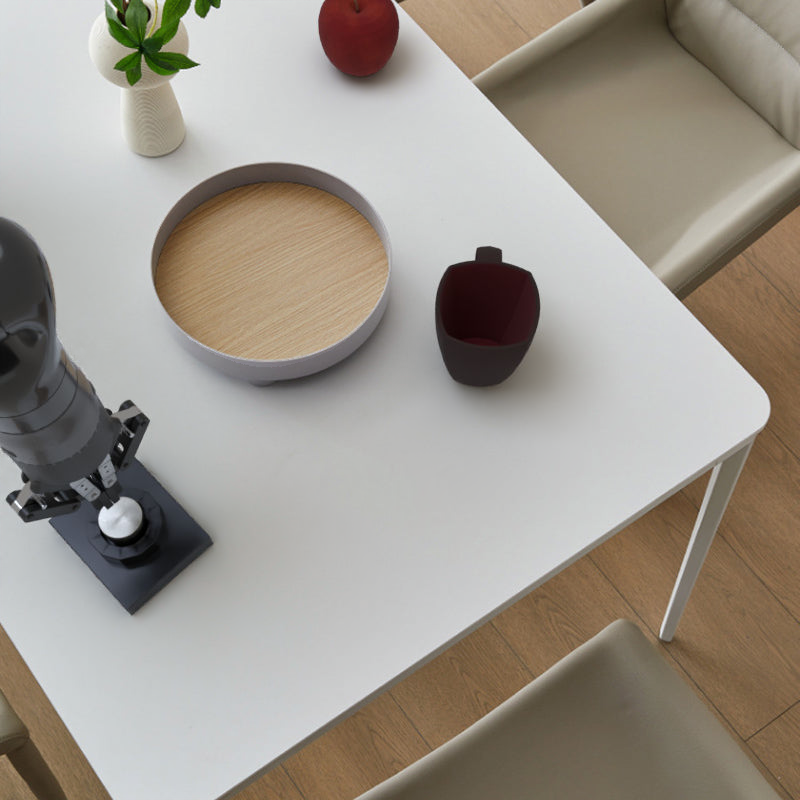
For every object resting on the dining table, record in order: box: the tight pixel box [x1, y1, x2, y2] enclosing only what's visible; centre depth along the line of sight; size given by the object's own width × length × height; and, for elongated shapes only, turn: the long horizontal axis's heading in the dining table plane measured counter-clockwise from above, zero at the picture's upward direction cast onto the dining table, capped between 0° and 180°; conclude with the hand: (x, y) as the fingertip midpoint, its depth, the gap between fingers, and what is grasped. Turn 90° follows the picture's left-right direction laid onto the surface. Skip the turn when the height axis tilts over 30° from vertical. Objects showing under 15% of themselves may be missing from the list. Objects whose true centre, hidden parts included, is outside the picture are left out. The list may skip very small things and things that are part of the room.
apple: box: [317, 0, 400, 77], centre depth 119 cm, size 10×10×10 cm
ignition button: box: [98, 497, 147, 545], centre depth 94 cm, size 4×4×2 cm
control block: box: [47, 456, 214, 616], centre depth 96 cm, size 12×10×4 cm
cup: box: [434, 245, 541, 388], centre depth 102 cm, size 10×14×12 cm
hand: (107, 497), depth 88 cm, fingers closed
